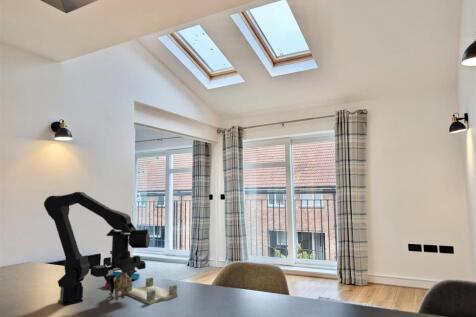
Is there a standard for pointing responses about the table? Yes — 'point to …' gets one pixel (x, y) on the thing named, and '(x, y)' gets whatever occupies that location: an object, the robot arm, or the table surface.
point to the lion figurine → (120, 285)
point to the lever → (134, 276)
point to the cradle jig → (151, 292)
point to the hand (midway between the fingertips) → (118, 292)
